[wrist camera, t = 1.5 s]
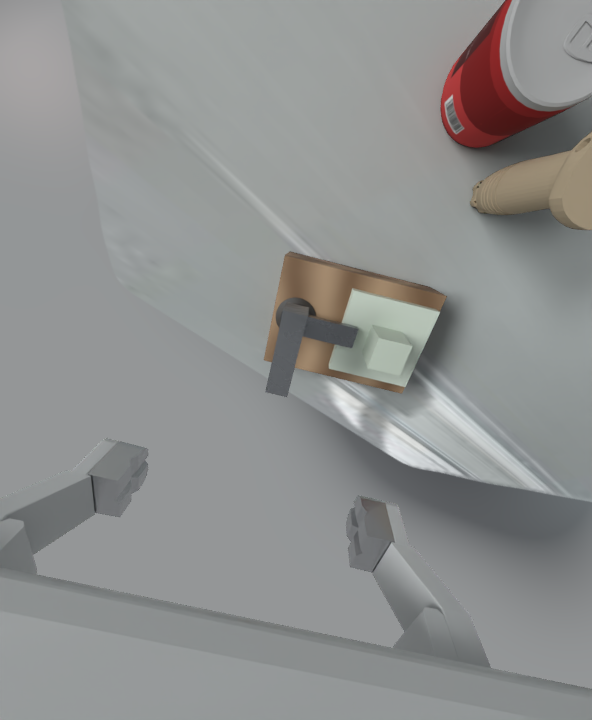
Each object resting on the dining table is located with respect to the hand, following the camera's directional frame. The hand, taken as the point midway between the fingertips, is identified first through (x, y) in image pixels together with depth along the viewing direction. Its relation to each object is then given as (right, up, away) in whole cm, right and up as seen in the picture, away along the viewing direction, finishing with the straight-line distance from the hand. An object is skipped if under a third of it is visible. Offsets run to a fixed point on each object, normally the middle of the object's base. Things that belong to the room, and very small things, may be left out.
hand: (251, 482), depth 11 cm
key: (+4, +9, +20) cm, 22 cm away
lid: (+11, +7, +21) cm, 24 cm away
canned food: (+19, +29, +16) cm, 38 cm away
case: (+8, +10, +25) cm, 28 cm away
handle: (+21, +22, +19) cm, 36 cm away
